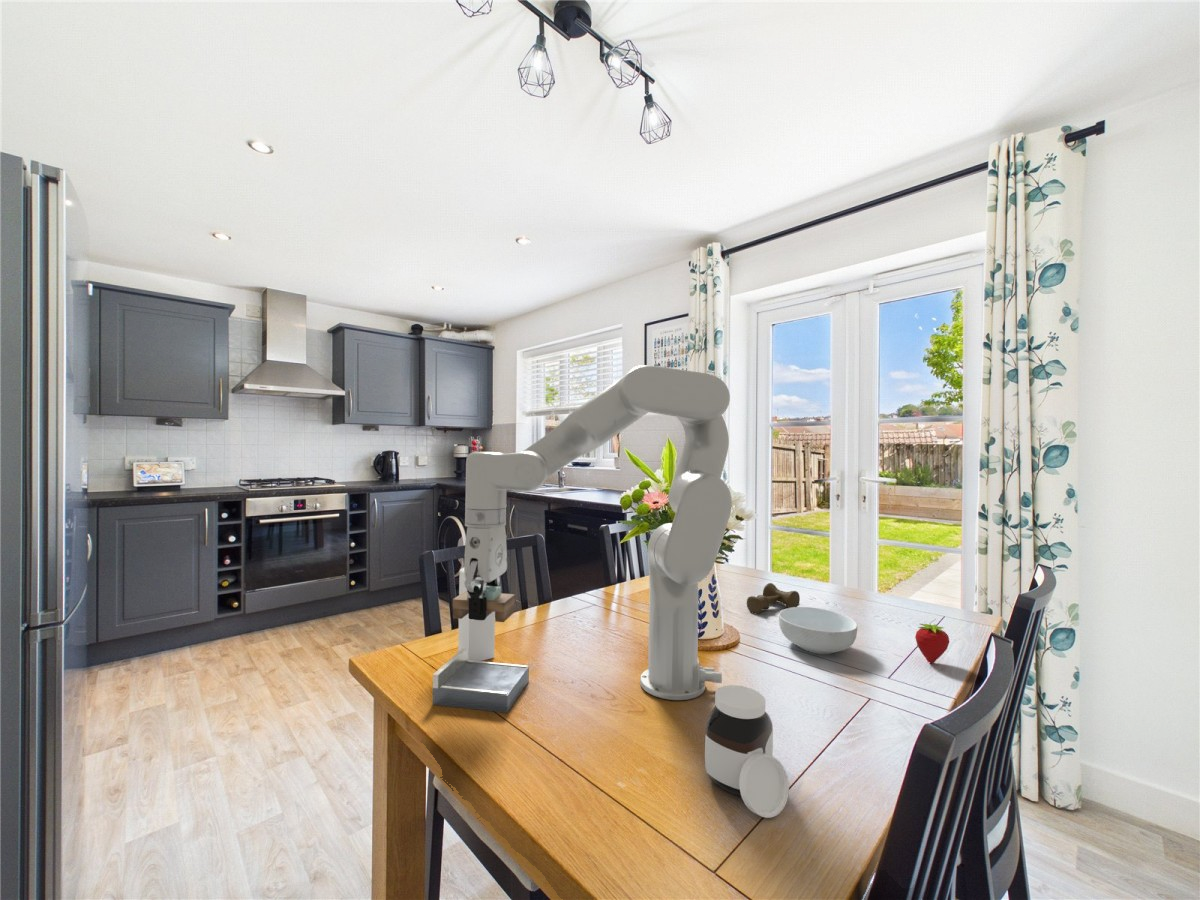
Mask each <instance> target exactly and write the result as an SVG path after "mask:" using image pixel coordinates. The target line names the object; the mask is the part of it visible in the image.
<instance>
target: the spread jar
mask: <svg viewBox="0 0 1200 900" xmlns="http://www.w3.org/2000/svg"><path fill="white" fill-rule="evenodd" d="M714 693H715V695H714V704H715V706H714V707H713V709H712V710H711V713H710V715H709V717H708V720H707V723H706V728H705V739H704V740H705V741H704V765H705V767H704V768H705V771H706V773H707V776H708V777H709V778H710V779H711V780H712V781H713V782H714V783H715V784H716V785H717V786H719V787H720V788H721V789H723V790H724V791H726V792H728V793H731V794H733V795H737V796H741V799H742V801H743V803H744V805H745V806H746V807H747V809H748V810H750V811H751V812H752V813H754V814H756V815H758V816H760V817H762V818H765V819H768V818H770V819H771V818H774V817H776V816H778V815H779V814H781V812H782V811H783V810H784V808H785V807H786V805H787V801H788V799H789V798H788V797H789V792H790V791H789V790H790V786H789V779H788V778H789V777H788V775H787V771H786V769H785V767H784V765H783V764H782V763H781V762H780V761H779V759H778V758H776V757H774V756H773V755H774V754H773V753H774V750H773V749H774V747H773V746H774V745H773V744H774V730H773V729H774V728H773V721H772V719H771V717H770V715H769V714H768V712H766V698H765V697H764V695H763V694H762V693H760V692H759V691H757V690H755V689H753V688H751V687H747V686H743V685H734V684H732V685H730V684H729V685H724V686H721V687H718V688H717V689H716V691H715V692H714Z"/></svg>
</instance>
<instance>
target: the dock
mask: <svg viewBox="0 0 1200 900" xmlns="http://www.w3.org/2000/svg"><path fill="white" fill-rule="evenodd" d="M529 681H530V665H524V664H523V665H522V664H513V663H502V662H491V661H472V660H467V648H462V649H461V650H460V651H459V652H456V654H455V655H453V656H452V657H451V658H450V659H448V661H446V663H444V664H443V665H442V666H440V668H438V669H437V671H435V672H434V673H433V674H432V705H433V706H441V707H442V706H443V707H450V708H451V707H452V708H458V709H460V708H461V709H469V710H479V711H487V712H496V713H497V712H498V713H504V714H505V713H507V714H508V712H509V711H510V710H511V708H512V706H513V705H514V704H515V702H516V701H517V699H518V698H519V696H520V695H521V693H522V692H523V691H524V690H525V687H526V686H527V685H528V683H529Z"/></svg>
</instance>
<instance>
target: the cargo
mask: <svg viewBox="0 0 1200 900" xmlns="http://www.w3.org/2000/svg"><path fill="white" fill-rule="evenodd" d="M476 586H478V587H479V589H480V588H481V585H476ZM501 593H502V586H500V587H498V586H486V589H485V596H484V597H487V600H489V601H493V600H495V599H496V598H497V597H499V596H500V595H501ZM467 599H469V598H468V592H467Z"/></svg>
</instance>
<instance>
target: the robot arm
mask: <svg viewBox="0 0 1200 900" xmlns="http://www.w3.org/2000/svg"><path fill="white" fill-rule="evenodd" d="M730 402H731V395H730V391H729V387H728V385H726V382H725V381H723V380H722V378H719V376H716V375H713V374H710V373H706V372H701V371H700V372H699V371H692V370H686V369H685V370H684V369H679V368H677V369H676V368H669V367H665V366H658V365H657V366H656V365H649V364H645V365H638V366H635V367H633V368H631V369H630V370H628V372H627V373H625V374H624V375H623V376H621V377H620V378H619V379H617V380H616V381H615V382H613V383H612V384H610V385H609V386H608V387H607V388H604V389H603V390H602V391H601V392H599V393H598V394H596V395H594V396H593V397H592V398H590V399H589V400H587V401H586V402H585V403H584V404H582V405H580V406H579V407H578V408H576V409H575V410H573V411H572V412H571V413H570V414H568V415H567V416H566V418H564V420H562V422H561V423H560V424H558V425H557V426H556V427H555V428H553V429H552V430H551V431H550V432H548V433H547V434H546V435H544V436H543V437H542V438H540V439H539V440H537V441H536V442H534V443H532V444H531V445H530V446H528V447H527V448H526V449H524V450H522V451H519V452H511V453H503V452H498V451H497V452H496V451H473V452H470V453H469V454H468V455H467V456H466V461H465V497H464V498H465V503H464V506H465V508H464V510H465V512H464V526H465V527H467V529H466V535H465V545H464V561H463V562H464V563H463V565H464V566H463V567H464V575H465V579H466V580H465V583H464V585H465V587H466V589H467V592H468V598H469V619H474V620H485V619H486V602H487V597H484V596H485V589H486V586H498V587H501V579H500V577H501V576H502V575H503V574H505V572H507V569H508V548H507V546H508V545H507V533H506V532H507V531H506V525H507V490H508V491H514V492H521V493H530V492H535V491H536V490H538V489H539V488H541V487H542V486H543V484H545V482H546V480H547V479H549V478H550V477H552V476H553V475H554V474H556V473H558V471H560V470H561V469H562V468H564V467H566V466H567V465H568V464H570V463H572V462H573V461H574V460H576V459H578V458H579V457H582V456H584V455H587V454H589V453H591V452H593V451H595V450H597V449H598V448H600V447H602V446H604V444H606V443H607V442H608V441H611V439H613V438H614V437H616V436H617V435H618V434H620V433H621V432H623V431H624V430H625V429H626V428H628V427H630V426H631V425H633V424H634V423H635V422H637V421H638V420H640V419H641V418H642V417H645V416H646V415H647V414H649V413H651V414H657V415H663V416H671V417H676V418H677V419H678V420H679V422H680V424H681V426H682V427H683V431H684V443H683V444H684V445H683V449H682V453H681V457H680V459H679V461H678V465H677V468H676V470H675V471H676V472H675V474H674V477H673V480H672V482H671V485H670V488H669V491H668V503H669V506H670V508H671V510H672V511H673V512H674V518H673V520H672V522H668V523H663V524H661V525H660V526H658V527H657V528H655V529H654V531H653V532H652V533H651V535H650V537H649V540H648V544H647V565H648V577H649V578H648V579H649V581H648V582H649V584H648V585H649V588H648V589H649V594H648V595H649V598H648V599H649V603H648V604H649V605H648V663H647V666H648V667H647V669H646V670H643V672H642V673H641V674H640V677H639V678H640V679H639V680H640V681H639V683H640V686H641V688H642V689H643V690H644V691H645V692H647V694H650V695H652V696H653V697H657V698H659V699H664V700H668V701H669V700H670V701H685V700H687V701H688V700H692V699H695V698H697V697H698V698H699V696H701V695H702V694H703V693H704V692H705V690H706V682H710V683H714V684H722V682H723V677H722V675H723V674H722V672H721V671H715V667H708V666H707V667H706V666H703V665H702V664H700V658H699V657H698V656H699V655H698V654H699V653H698V650H699V648H698V647H699V646H698V645H699V644H698V643H699V640H698V639H699V601H700V600H699V599H700V598H699V583H701V582H702V581H703V580H705V579H706V578H707V577H708V576H709V574H710V572H711V571H712V570H713V567H714V565H715V563H716V559H717V557H718V555H719V551H720V548H721V546H722V542H723V540H724V536H725V534H726V533H725V532H726V529H727V527H728V524H729V521H730V517H731V514H732V506H733V505H732V504H733V503H732V493H731V491H730V489H729V487H728V485H727V484H726V482H725V481H724V480H723V479H721V477H722V474H723V471H724V466H725V464H726V463H725V462H726V460H727V456H728V452H729V445H730V443H729V442H730V440H729V437H730V436H729V431H728V428H727V424H726V422H725V418H724V416H723V415H724V414H725V412H726V411H727V409H728V407H729V406H730ZM476 577H481V579H482V580H475V579H476ZM476 584H481V588H480V589H479V587H478V586H476Z"/></svg>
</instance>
